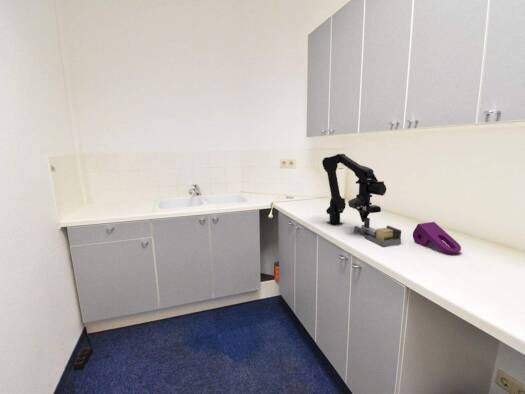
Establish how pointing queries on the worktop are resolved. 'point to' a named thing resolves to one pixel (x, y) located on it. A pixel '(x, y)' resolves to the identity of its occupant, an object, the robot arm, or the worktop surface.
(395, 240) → the frame
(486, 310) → the worktop surface
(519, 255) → the worktop surface
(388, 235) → the block
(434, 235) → the mounting bracket
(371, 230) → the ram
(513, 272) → the worktop surface
